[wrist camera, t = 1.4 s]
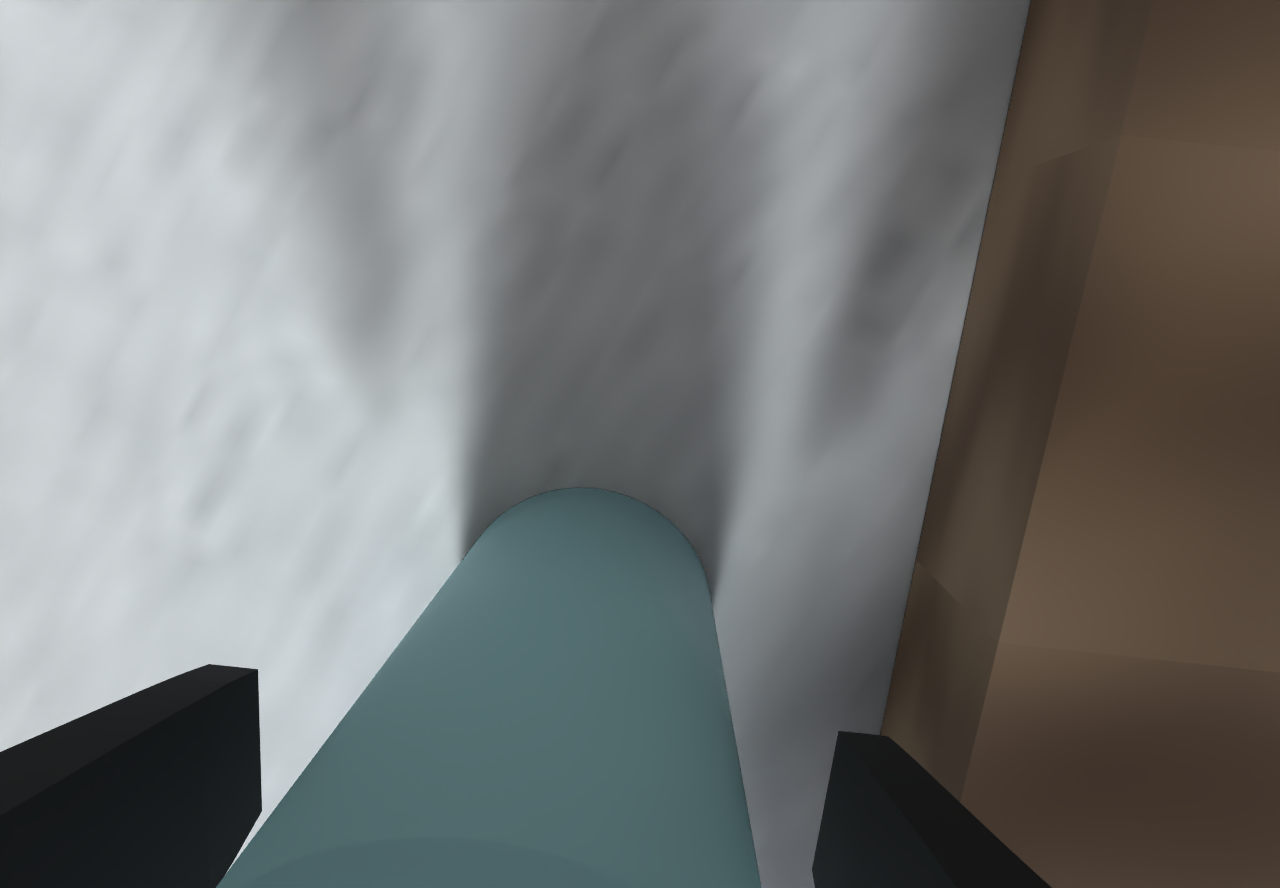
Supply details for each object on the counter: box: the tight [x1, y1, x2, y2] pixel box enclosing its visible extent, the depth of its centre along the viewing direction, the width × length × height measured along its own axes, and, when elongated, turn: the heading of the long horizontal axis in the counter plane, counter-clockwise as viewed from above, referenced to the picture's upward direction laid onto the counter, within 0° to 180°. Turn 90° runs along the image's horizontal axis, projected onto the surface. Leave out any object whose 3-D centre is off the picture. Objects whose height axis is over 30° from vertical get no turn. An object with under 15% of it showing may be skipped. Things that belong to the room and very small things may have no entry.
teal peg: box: [216, 488, 761, 888], centre depth 9 cm, size 5×5×8 cm
